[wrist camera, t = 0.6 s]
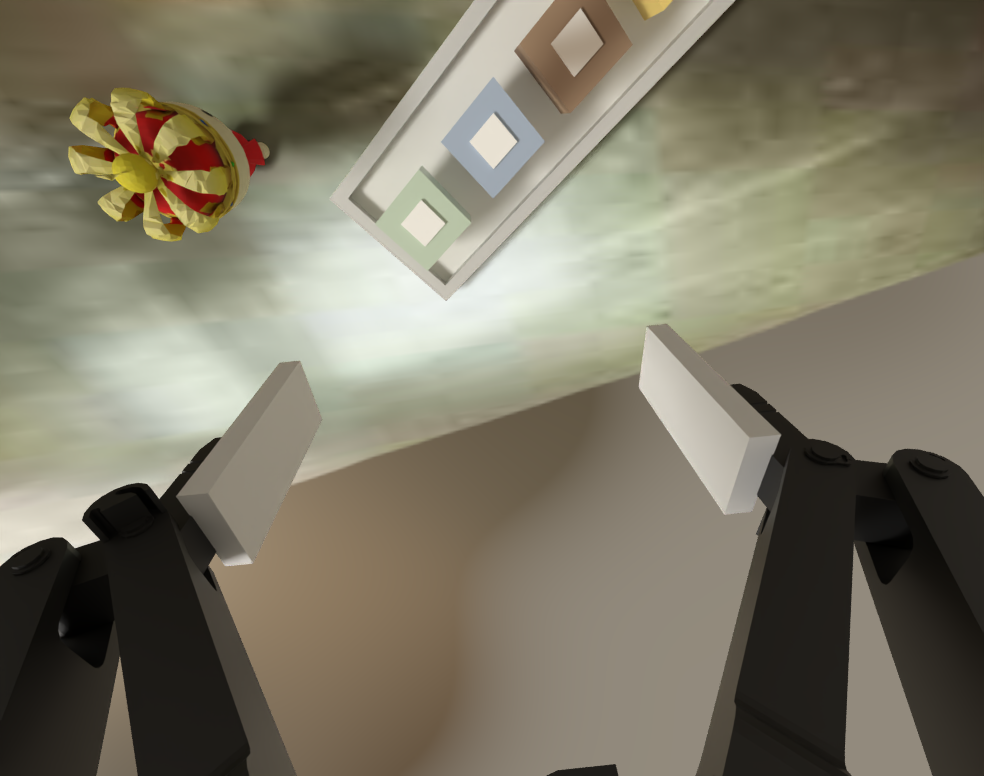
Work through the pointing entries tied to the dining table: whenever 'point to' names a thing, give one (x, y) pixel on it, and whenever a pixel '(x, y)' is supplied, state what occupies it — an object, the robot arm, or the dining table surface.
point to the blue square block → (492, 139)
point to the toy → (164, 161)
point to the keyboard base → (568, 137)
